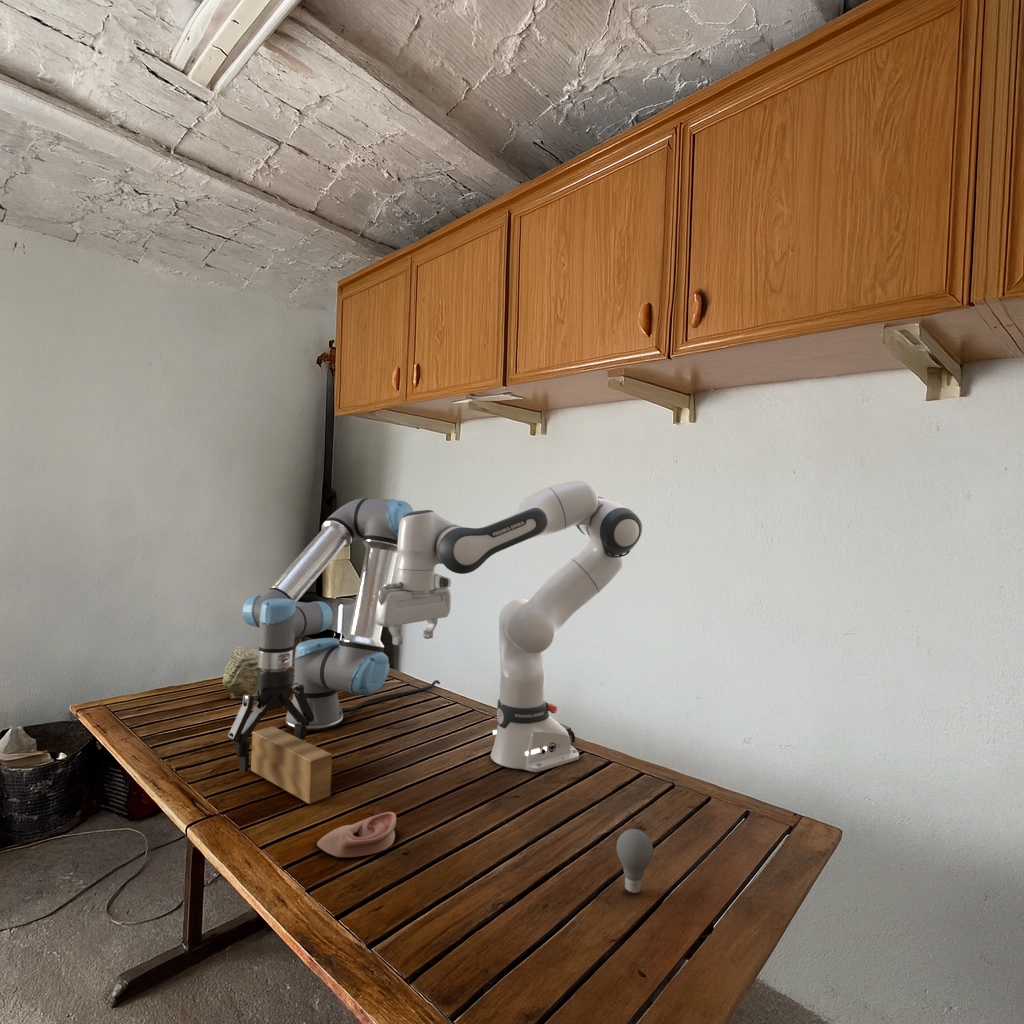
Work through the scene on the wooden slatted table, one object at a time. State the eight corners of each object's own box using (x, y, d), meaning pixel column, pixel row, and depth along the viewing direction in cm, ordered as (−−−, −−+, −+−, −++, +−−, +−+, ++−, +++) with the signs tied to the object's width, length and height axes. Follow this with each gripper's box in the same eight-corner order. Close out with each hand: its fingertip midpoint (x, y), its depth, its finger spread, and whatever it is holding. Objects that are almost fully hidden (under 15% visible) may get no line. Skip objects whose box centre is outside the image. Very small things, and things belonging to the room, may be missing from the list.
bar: (250, 770, 145) (252, 731, 145) (271, 763, 149) (272, 725, 149) (309, 804, 130) (311, 761, 130) (330, 795, 134) (332, 754, 134)
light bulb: (610, 879, 108) (613, 822, 108) (644, 879, 109) (647, 822, 109) (619, 902, 102) (622, 840, 102) (655, 901, 103) (658, 840, 103)
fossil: (218, 695, 195) (220, 647, 195) (278, 685, 208) (279, 640, 207) (228, 703, 189) (230, 653, 188) (289, 692, 201) (290, 645, 201)
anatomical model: (309, 830, 112) (339, 800, 124) (308, 852, 113) (338, 821, 124) (379, 841, 110) (403, 810, 121) (378, 864, 110) (402, 831, 121)
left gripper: (230, 681, 132) (226, 783, 132) (331, 662, 151) (328, 750, 151) (213, 674, 136) (209, 772, 137) (313, 656, 156) (309, 742, 156)
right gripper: (389, 586, 134) (386, 650, 135) (456, 579, 150) (453, 637, 151) (370, 582, 138) (367, 645, 139) (437, 576, 154) (435, 632, 155)
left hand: (271, 761), depth 144 cm, fingers open, 13 cm apart
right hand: (413, 641), depth 145 cm, fingers open, 8 cm apart
